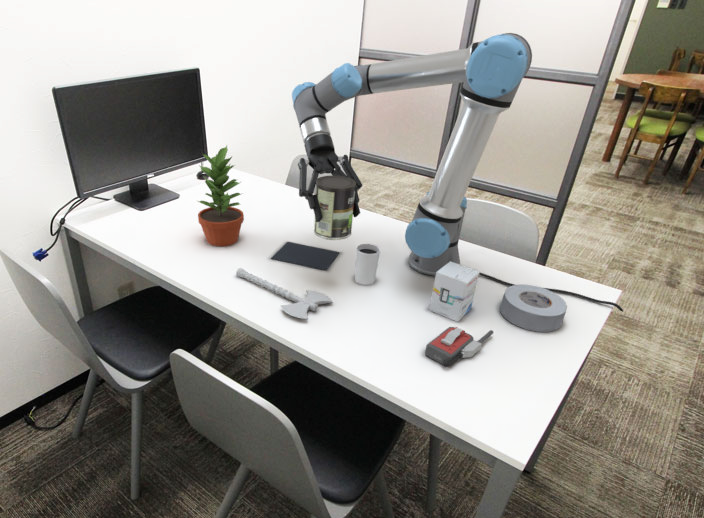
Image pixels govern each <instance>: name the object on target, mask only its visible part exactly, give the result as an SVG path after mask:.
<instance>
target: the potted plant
mask: <svg viewBox="0 0 704 518" xmlns="http://www.w3.org/2000/svg"><path fill="white" fill-rule="evenodd" d="M228 150H229V149H228V145H226V146H225V147H222V148H220V149H219V150H218V152H217V153H216V154H215V156H213V157H210V156H209V155H208V154H203V157H204V158H205V159H206V160H207V161H208V162H209V164H210V167H208V166H201V165H200V164H199V167H200V170H201V171H202V172H203V173H205V174H206V175H207V176H208V177H209V178H210V179H208V178H207V177H206V176H203V178H204V179H205V180H204V182H205V184H206V186H207V187H208V189H209V190H210V193H211V194H210V193H207V192H206V193H205V194H204V195H205V196H208V197H210V198H211V199H212V201H211V202H209V201H205V200H197V202H198V203H200V204H202V205H204V206H206V207H207V208H204V209H202V210H200V211H198V214H197V220H198V224H199V225H200V226H201V230H202V232H203V235H204V237H205V239H206V242H207V244H209V245H211V246H214V247H229V246H232V245H235V244H236V243H237V242H238V240H239V236H240V232H241V227H242V225H243V222H244V221H245V215H244V211H242V210H241V209H239V208H237V207H235V206H240V205H241V203H240V202H238V201H237V202H231V199H234V198H236V197H238V196H241V195H243V194H244V193H240V192H234V193H231V194H229V192H228V191H229V190H231V189H233V188H234V187H236V186H238V185H240V184H241V183H242V181H240V182H238V179H237V178H234V179H231V180H229V179H230V176H229V175H228V173H229V172H230V170H231V169H233V168H234V167H235V166H236V164H233V165H231V163H230V162H231V159H232V158H233V156H230V157H229V158H226V157H227V153H228ZM228 163H229V164H228ZM226 192H227V193H226ZM225 193H226V194H225Z"/></svg>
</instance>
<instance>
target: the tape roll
mask: <svg viewBox="0 0 704 518" xmlns="http://www.w3.org/2000/svg"><path fill="white" fill-rule="evenodd" d="M545 288H546V287H541V286H538V285H533V284H515V285H513V286H509V287H507V288H506V289H505V290H504V293H503V296H502V299H501V302H500V305H499V312H500V314H501V315H502V317H503V318H504V319H505V320H507V321H508V322H509V323H511V324H513V325H515V326H516V327H519V328H522V329H524V330H527V331H532V332H537V333H549V332H554V331H556V330H558V329H559V328H560V327H561V325H562V323H563V321H564V318H565V315H566V312H567V309H568V304H567V303H566V301H565V300H564V299H563V298H562V297H561V296H560V295H558V294H557V293H556V292H553V291H549V290H547V289H545Z"/></svg>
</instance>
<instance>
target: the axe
mask: <svg viewBox="0 0 704 518" xmlns="http://www.w3.org/2000/svg"><path fill="white" fill-rule="evenodd" d="M235 274H236V276H238V277H239V278H243V279H246V280H247V281H251V282H252V283H253V284H254V283H255V284H256V285H257V286H261V287H262V288H265V289H267V290H270V292H272V293H275V294H276V295H277V296H281V297H282V298H286V299H287V300H288V301H292V302H294V303H290V304H281V305H280V308H281V309H282V311H283V312H285V314H287V315H289V316H291V317H294V318H297V319H303V320H308V319H309V318H308V315H307V313H308V311H309V310H311V311H313V312H316V311H317V310H318V307H319V305H324V304H333V303H334V301H333V299H332V298H331V297H329V296H328V295H327V294H325V293H323V292H320V291H317V290H311V289H306V290H305V291H306V294H307V295H306V297H305V298H303V297H301V296H299V295H296V294H294V293H293V292H292V291H289V290H288V289H286V288H285V289H284V288H283V287H282V286H278V285H277V284H273V283H271V282H269V281H267V280H265V279H263V278H261V277H258V276H257V275H253V273H251V272H250V273H249V272H248V271H246V270H245V269H244V268H242V267H239V268H238V269H236V272H235Z"/></svg>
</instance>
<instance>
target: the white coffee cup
mask: <svg viewBox="0 0 704 518" xmlns="http://www.w3.org/2000/svg"><path fill="white" fill-rule="evenodd" d="M380 254H381V248H380V247H379V246H378V245H376V244H373V243H360V244H358V245H357V246H356V249H355V270H354V281H355V282H356V283H357V284H359V285H363V286H370V285H373V284H374V283H375V282H376V277H377V272H378V271H377V270H378V265H379V259H380Z"/></svg>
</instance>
